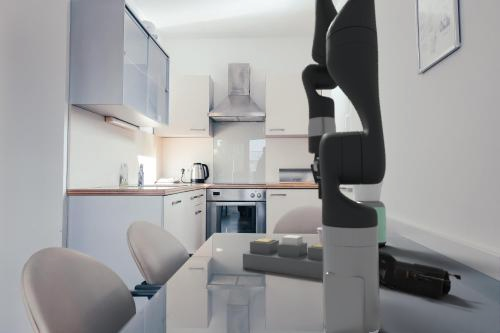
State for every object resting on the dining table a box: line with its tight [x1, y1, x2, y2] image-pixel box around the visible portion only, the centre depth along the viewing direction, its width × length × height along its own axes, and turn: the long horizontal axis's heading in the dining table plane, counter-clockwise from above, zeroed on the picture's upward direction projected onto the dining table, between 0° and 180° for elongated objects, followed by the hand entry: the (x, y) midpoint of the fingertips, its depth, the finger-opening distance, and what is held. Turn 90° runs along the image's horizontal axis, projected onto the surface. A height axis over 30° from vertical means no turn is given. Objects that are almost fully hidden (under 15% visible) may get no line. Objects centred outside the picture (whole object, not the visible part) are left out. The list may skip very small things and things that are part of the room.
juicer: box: [352, 179, 388, 247], centre depth 131 cm, size 19×13×35 cm
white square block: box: [281, 234, 304, 246], centre depth 97 cm, size 4×4×3 cm
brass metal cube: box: [313, 242, 322, 248], centre depth 92 cm, size 4×4×3 cm
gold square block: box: [254, 238, 275, 243], centre depth 101 cm, size 4×4×3 cm
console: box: [242, 239, 323, 280], centre depth 97 cm, size 12×26×7 cm, turn 60°
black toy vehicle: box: [378, 249, 462, 301], centre depth 80 cm, size 7×25×8 cm, turn 42°
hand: (323, 199), depth 92 cm, fingers closed
